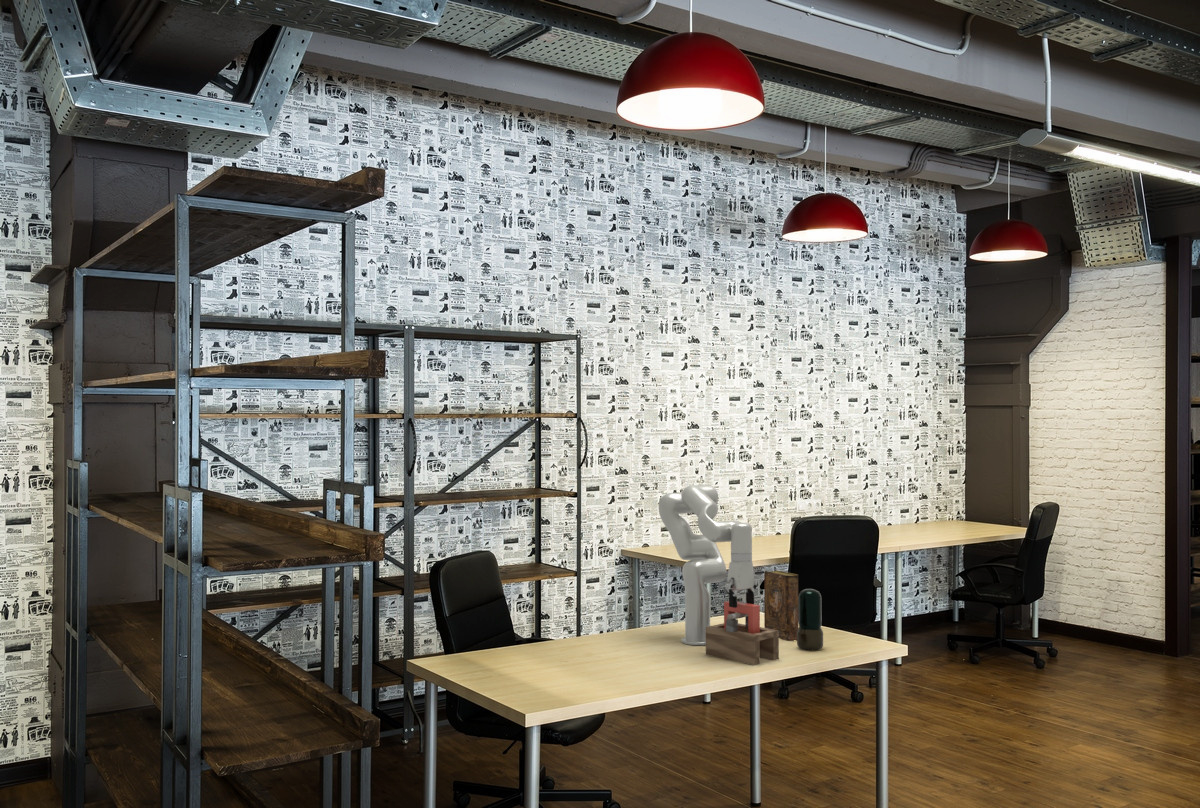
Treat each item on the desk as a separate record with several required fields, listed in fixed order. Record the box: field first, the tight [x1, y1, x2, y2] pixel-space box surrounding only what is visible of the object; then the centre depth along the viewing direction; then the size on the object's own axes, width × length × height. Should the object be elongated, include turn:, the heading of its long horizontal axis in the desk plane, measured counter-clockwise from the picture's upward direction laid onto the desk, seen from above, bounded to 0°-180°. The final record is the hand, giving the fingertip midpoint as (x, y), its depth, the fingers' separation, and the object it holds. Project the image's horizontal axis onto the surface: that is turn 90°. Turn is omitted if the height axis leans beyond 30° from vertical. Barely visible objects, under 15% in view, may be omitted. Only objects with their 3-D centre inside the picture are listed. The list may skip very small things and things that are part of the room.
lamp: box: [796, 588, 824, 651], centre depth 371 cm, size 10×10×22 cm
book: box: [763, 569, 799, 642], centre depth 392 cm, size 16×6×25 cm, turn 25°
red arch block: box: [723, 600, 761, 634], centre depth 357 cm, size 4×13×13 cm, turn 44°
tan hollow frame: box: [705, 612, 780, 666], centre depth 357 cm, size 14×22×16 cm, turn 43°
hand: (741, 605), depth 358 cm, fingers open, 9 cm apart
